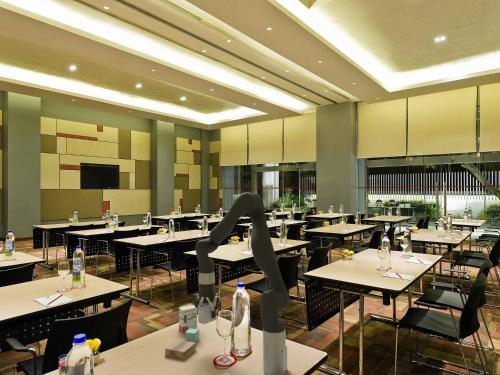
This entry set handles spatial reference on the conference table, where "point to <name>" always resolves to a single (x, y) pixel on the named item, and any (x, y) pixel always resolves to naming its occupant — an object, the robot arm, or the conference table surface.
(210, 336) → the conference table surface
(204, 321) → the medicine box
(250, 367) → the conference table surface
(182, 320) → the ink box
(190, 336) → the teal cube
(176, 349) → the walnut slab
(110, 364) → the conference table surface
